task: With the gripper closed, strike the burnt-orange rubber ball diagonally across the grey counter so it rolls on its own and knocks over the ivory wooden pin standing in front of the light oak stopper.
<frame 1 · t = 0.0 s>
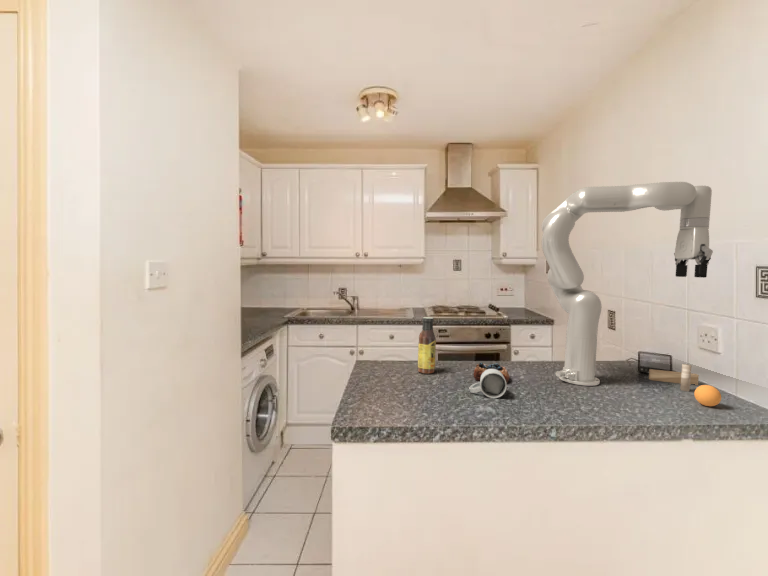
hand: (690, 277, 125), 37 cm above the countertop, tool pointing down, fingers open, 9 cm apart
ceramic mug: (487, 394, 115), on the countertop
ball: (707, 395, 110), on the countertop
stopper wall: (672, 381, 134), on the countertop
sauce bottle: (426, 372, 137), on the countertop
pastry: (491, 380, 131), on the countertop
pin: (684, 390, 125), on the countertop
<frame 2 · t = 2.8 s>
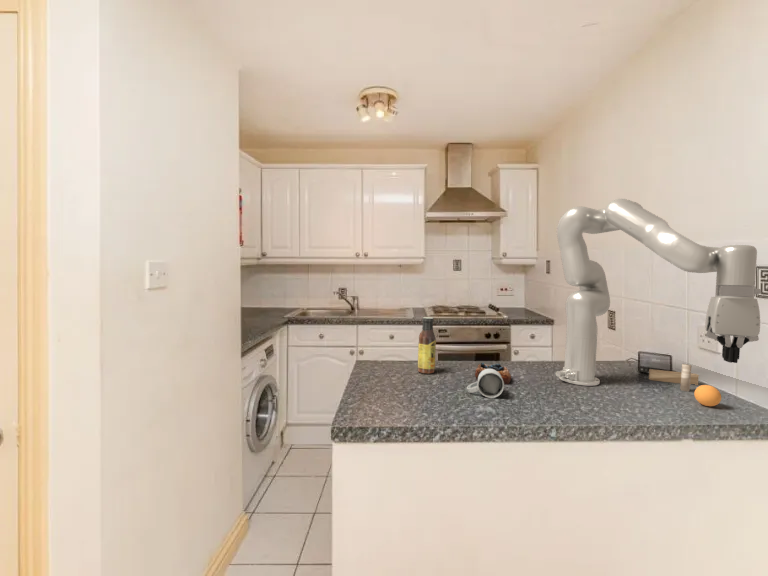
hand: (730, 361, 100), 15 cm above the countertop, tool pointing down, fingers closed
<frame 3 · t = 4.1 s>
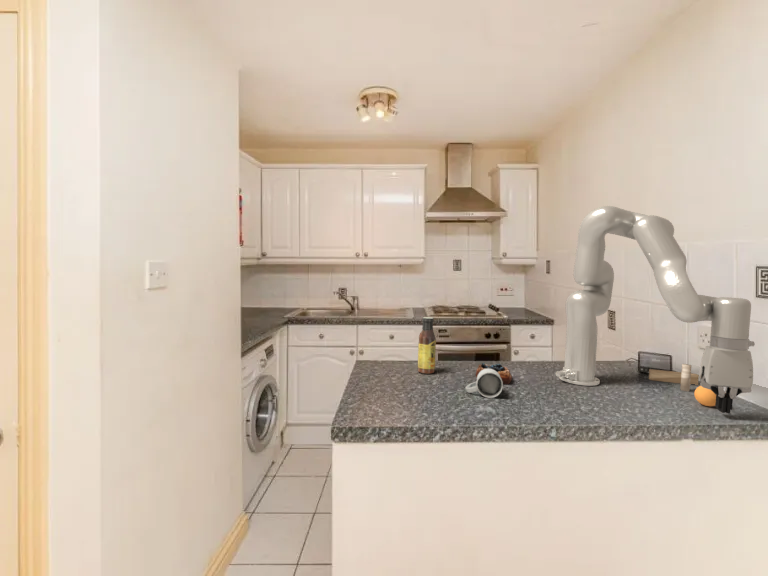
hand: (723, 411, 102), 2 cm above the countertop, tool pointing down, fingers closed
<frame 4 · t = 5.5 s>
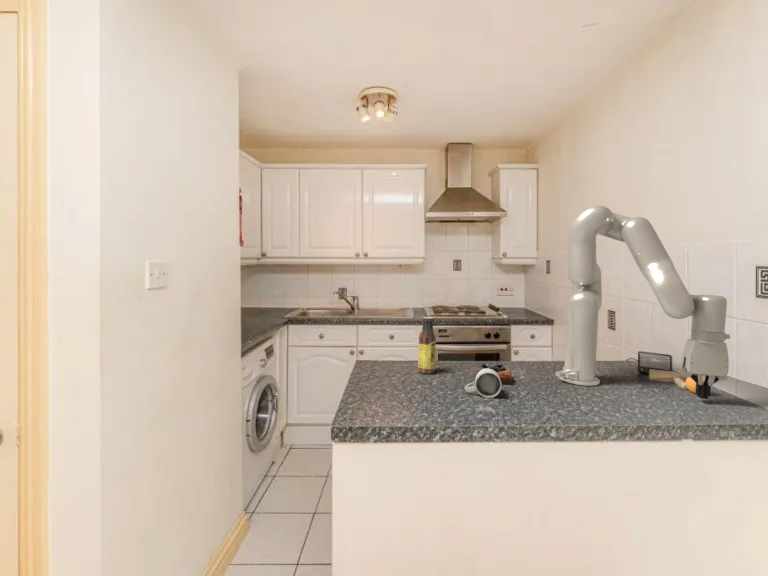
hand: (702, 397, 113), 2 cm above the countertop, tool pointing down, fingers closed
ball: (697, 384, 122), on the countertop
pin: (685, 386, 125), point 1 cm above the countertop, tilted 90°
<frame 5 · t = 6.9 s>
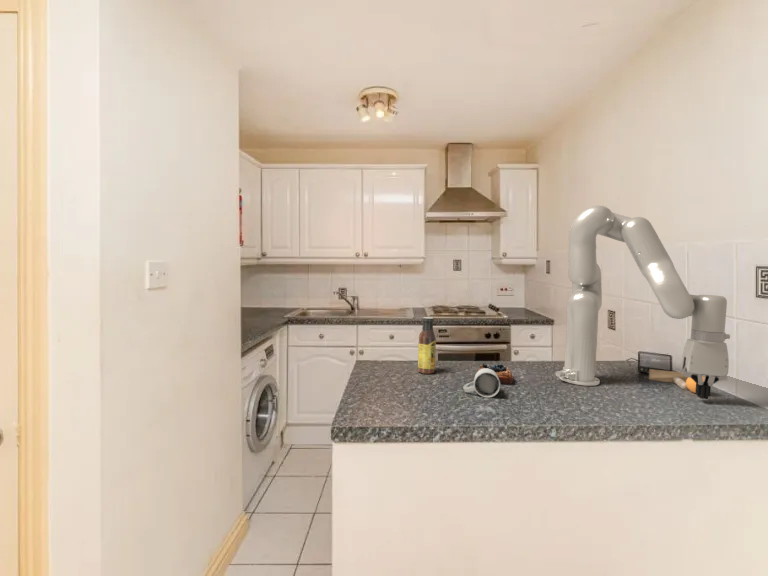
hand: (702, 397, 113), 2 cm above the countertop, tool pointing down, fingers closed
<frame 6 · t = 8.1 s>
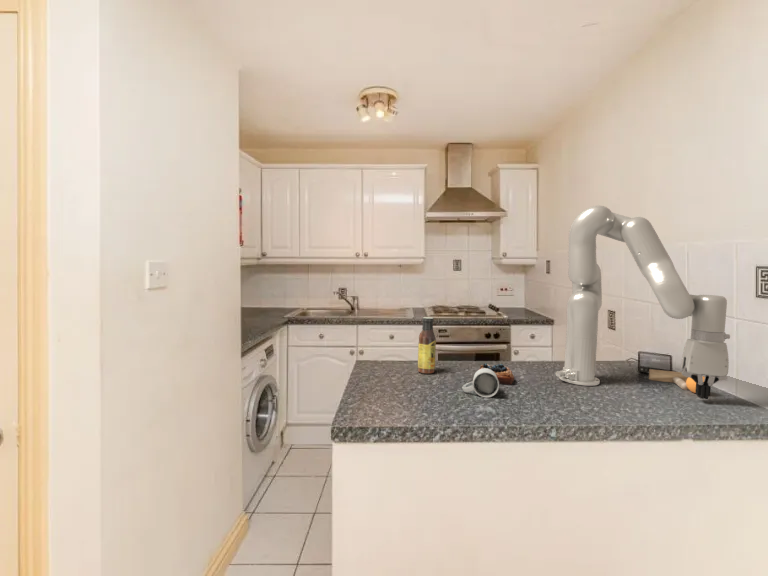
hand: (702, 397, 113), 2 cm above the countertop, tool pointing down, fingers closed
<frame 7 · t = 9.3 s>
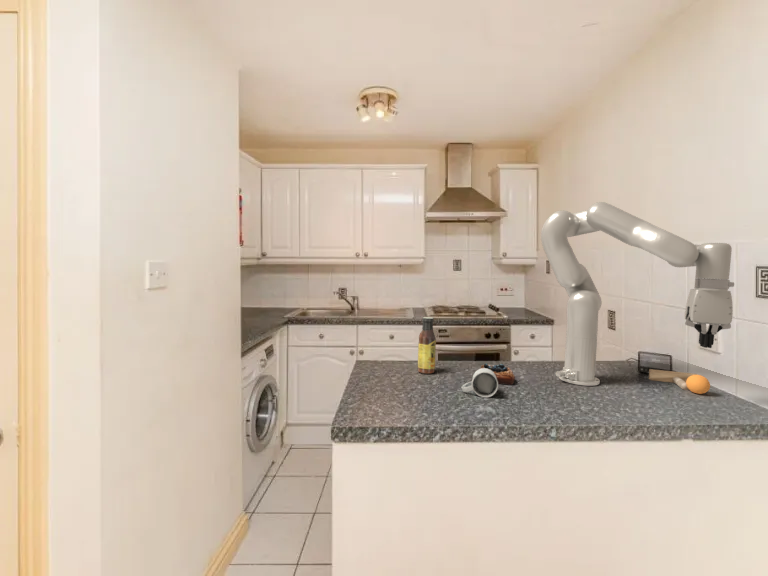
hand: (705, 346, 112), 17 cm above the countertop, tool pointing down, fingers closed
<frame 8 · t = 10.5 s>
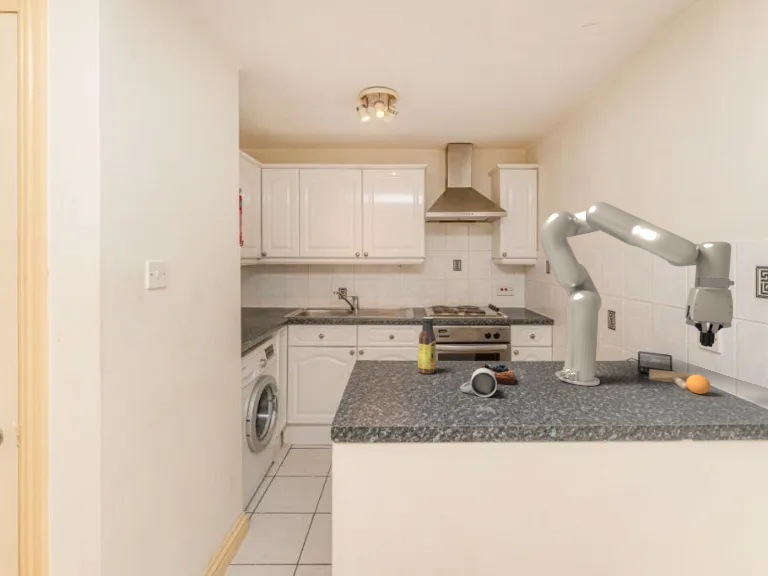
hand: (706, 345, 112), 17 cm above the countertop, tool pointing down, fingers closed
at the end: pin tilted 90°; pin never touched the robot; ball moved 13.0 cm from its start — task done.
